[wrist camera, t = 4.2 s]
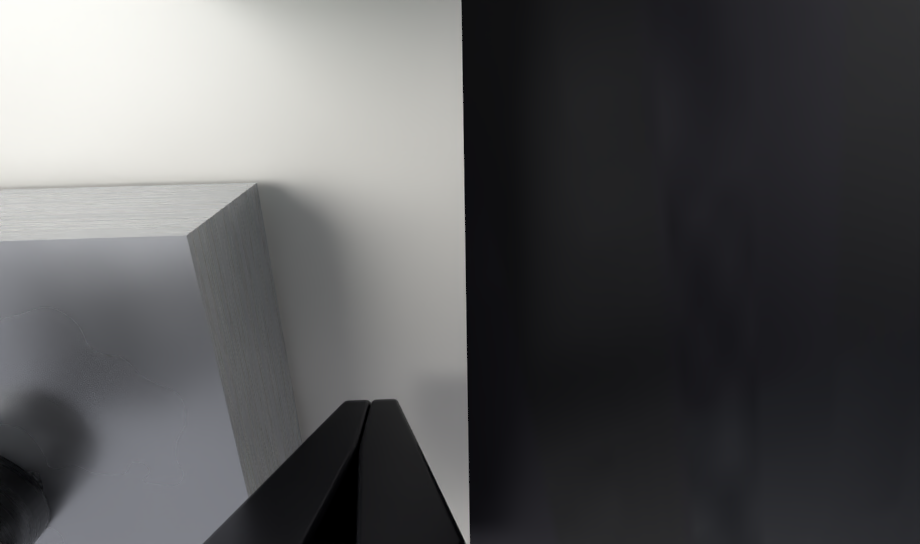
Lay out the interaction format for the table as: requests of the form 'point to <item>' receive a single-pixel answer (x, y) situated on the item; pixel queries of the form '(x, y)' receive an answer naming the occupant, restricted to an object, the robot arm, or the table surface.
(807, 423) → the table surface
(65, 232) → the shutter
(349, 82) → the socket plate
